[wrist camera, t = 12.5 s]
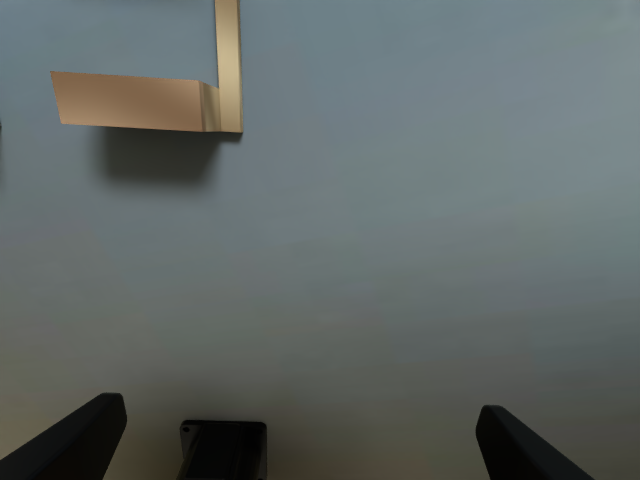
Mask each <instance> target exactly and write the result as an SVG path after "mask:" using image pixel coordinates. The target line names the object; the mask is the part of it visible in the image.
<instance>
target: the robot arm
mask: <svg viewBox="0 0 640 480" xmlns="http://www.w3.org/2000/svg"><path fill="white" fill-rule="evenodd" d="M126 424H127V414H126V409H125V405H124V400H123V396H122V395H121V394H120V393H102V394H100V395H98V396H97V397H95V398H94V399H92V400H91V401H89V402H88V403H86V404H85V405H83V406H82V407H80V408H79V409H77V410H75V411H74V412H72V413H71V414H69V415H68V416H66V417H65V418H63V419H62V420H60V421H59V422H57V423H56V424H54V425H53V426H51V427H50V428H48V429H47V430H45V431H44V432H42V433H41V434H39V435H38V436H36V437H35V438H33V439H32V440H30V441H29V442H27V443H26V444H24V445H23V446H21V447H20V448H18V449H17V450H15V451H14V452H12V453H10V454H9V455H7V456H6V457H4V458H3V459H1V460H0V480H102V479H103V477H104V475H105V473H106V470H107V468H108V466H109V464H110V461H111V459H112V457H113V455H114V452H115V450H116V448H117V446H118V443H119V441H120V439H121V437H122V434H123V432H124V430H125V427H126ZM180 435H181V443H182V450H183V458H184V461H183V464H182V466H181V469H180V471H179V474H178V476H177V479H176V480H266V478H267V426H266V424H264V423H262V422H237V421H202V420H185V421H183V422H182V424H181V427H180ZM476 438H477V441H478V444H479V447H480V450H481V453H482V456H483V459H484V462H485V465H486V468H487V471H488V474H489V477H490V480H595V479H593V478H592V477H591V476H590V475H588V474H587V473H586V472H585V471H583V470H582V469H581V468H579V467H578V466H577V465H576V464H574V463H573V462H572V461H571V460H569V459H568V458H567V457H566V456H564V455H563V454H562V453H560V452H559V451H558V450H557V449H555V448H554V447H553V446H552V445H550V444H549V443H548V442H547V441H545V440H544V439H543V438H542V437H540V436H539V435H538V434H536V433H535V432H534V431H533V430H531V429H530V428H529V427H528V426H526V425H525V424H524V423H523V422H521V421H520V420H519V419H517V418H516V417H515V416H514V415H512V414H511V413H510V412H509V411H507V410H506V409H505V408H503V407H502V406H499V405H484V406H483V407H482V409H481V412H480V416H479V419H478V422H477V425H476Z"/></svg>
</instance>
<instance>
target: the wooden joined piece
mask: <svg viewBox="0 0 640 480" xmlns="http://www.w3.org/2000/svg"><path fill="white" fill-rule="evenodd" d="M215 11H216V31H217V52H218V72H219V89H218V88H215V87H213V86H211V85H208V84H206V83H203V82H201V81H197V80H181V79H165V78H149V77H134V76H118V75H102V74H86V73H71V72H55V71H50V73H51V77H52V82H53V87H54V91H55V96H56V101H57V106H58V110H59V115H60V120H61V124H78V125H96V126H113V127H130V128H147V129H164V130H181V131H198V132H212V131H225V132H243V109H242V72H241V35H240V0H215Z"/></svg>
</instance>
